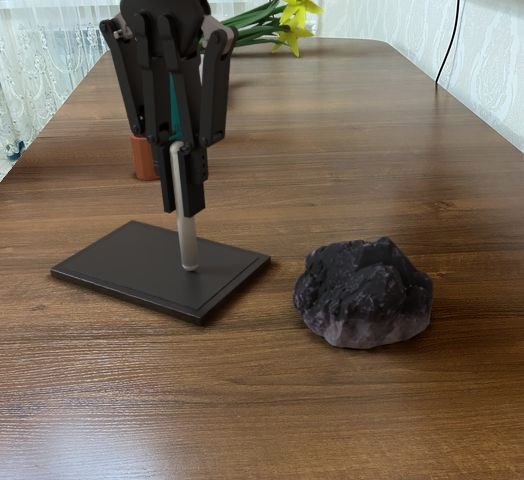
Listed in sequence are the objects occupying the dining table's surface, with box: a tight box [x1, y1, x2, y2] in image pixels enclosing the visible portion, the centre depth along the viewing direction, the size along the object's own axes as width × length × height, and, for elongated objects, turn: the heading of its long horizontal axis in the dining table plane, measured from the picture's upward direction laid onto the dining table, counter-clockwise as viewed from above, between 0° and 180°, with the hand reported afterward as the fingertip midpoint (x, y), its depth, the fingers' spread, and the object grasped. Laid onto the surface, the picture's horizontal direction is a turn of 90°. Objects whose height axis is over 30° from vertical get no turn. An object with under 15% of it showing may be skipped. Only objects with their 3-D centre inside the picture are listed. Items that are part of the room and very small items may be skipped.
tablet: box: [49, 219, 272, 327], centre depth 68 cm, size 20×14×1 cm
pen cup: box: [129, 132, 160, 181], centre depth 89 cm, size 4×4×6 cm
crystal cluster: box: [292, 236, 435, 350], centre depth 57 cm, size 13×14×10 cm
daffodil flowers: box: [199, 0, 325, 58], centre depth 148 cm, size 17×15×35 cm
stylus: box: [169, 141, 199, 271], centre depth 61 cm, size 2×2×14 cm
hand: (184, 209), depth 61 cm, fingers closed on stylus, 2 cm apart
